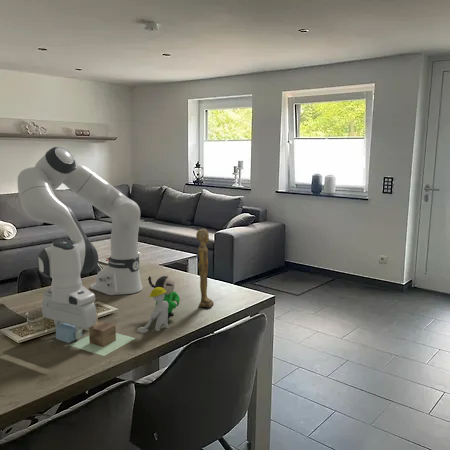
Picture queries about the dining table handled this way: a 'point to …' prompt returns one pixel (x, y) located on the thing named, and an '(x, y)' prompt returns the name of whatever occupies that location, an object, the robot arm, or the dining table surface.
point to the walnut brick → (102, 334)
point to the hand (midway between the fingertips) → (69, 335)
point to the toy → (167, 292)
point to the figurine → (158, 310)
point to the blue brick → (65, 332)
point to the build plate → (99, 350)
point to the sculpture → (203, 266)
